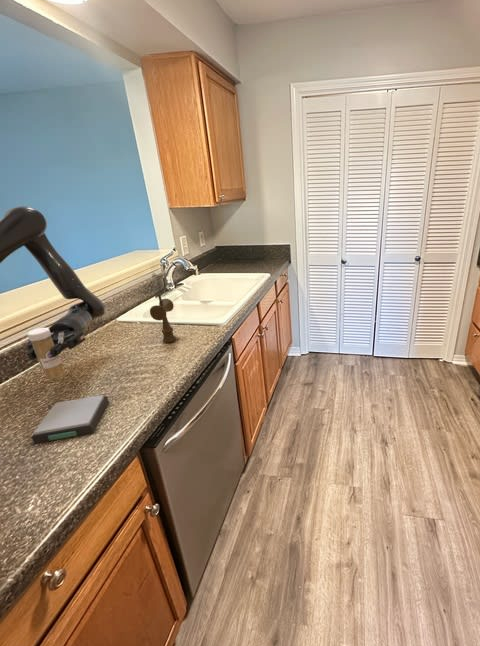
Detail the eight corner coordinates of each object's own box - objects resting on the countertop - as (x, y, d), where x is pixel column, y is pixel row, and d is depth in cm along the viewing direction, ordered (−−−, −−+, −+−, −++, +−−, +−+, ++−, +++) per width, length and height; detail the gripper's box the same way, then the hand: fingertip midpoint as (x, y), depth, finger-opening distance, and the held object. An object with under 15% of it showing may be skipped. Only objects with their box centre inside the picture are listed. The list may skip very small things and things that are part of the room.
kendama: (157, 346, 124) (145, 297, 116) (166, 336, 133) (156, 289, 125) (173, 346, 124) (161, 296, 116) (181, 335, 133) (171, 288, 125)
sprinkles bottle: (55, 380, 85) (36, 335, 80) (41, 379, 86) (21, 333, 81) (69, 371, 89) (53, 327, 84) (56, 370, 90) (39, 326, 85)
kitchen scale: (33, 445, 78) (29, 435, 77) (58, 410, 90) (54, 402, 89) (92, 434, 80) (89, 424, 79) (108, 402, 92) (106, 393, 91)
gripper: (37, 320, 95) (3, 346, 80) (91, 314, 98) (68, 338, 83) (46, 343, 98) (15, 372, 83) (98, 336, 101) (77, 363, 86)
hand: (41, 355), depth 83 cm, fingers closed on sprinkles bottle, 4 cm apart
